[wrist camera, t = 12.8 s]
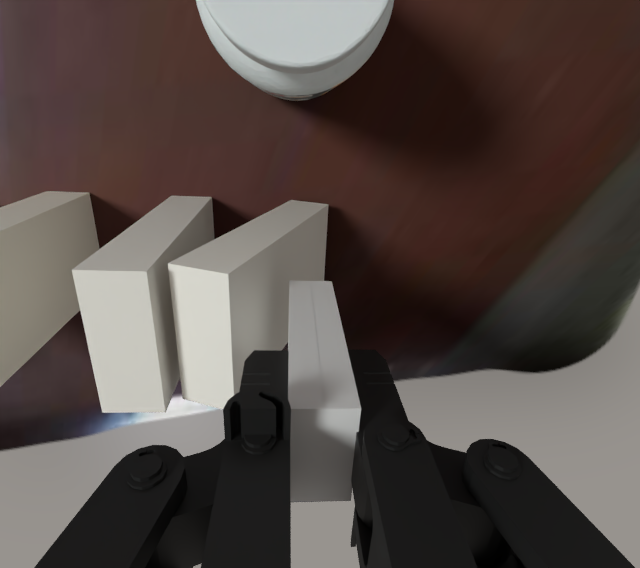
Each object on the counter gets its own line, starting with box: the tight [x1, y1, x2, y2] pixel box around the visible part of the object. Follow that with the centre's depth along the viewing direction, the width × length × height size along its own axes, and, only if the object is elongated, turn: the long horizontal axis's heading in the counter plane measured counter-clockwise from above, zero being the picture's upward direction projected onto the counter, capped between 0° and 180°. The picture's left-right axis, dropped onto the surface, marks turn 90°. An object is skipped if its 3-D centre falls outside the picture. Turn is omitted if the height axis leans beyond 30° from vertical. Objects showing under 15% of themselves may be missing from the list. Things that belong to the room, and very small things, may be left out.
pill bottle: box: [196, 0, 394, 101], centre depth 13 cm, size 6×6×10 cm
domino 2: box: [72, 196, 214, 413], centre depth 17 cm, size 2×5×10 cm, turn 177°
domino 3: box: [168, 200, 328, 410], centre depth 17 cm, size 2×5×10 cm, turn 179°
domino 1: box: [0, 191, 100, 387], centre depth 16 cm, size 2×5×10 cm, turn 177°
